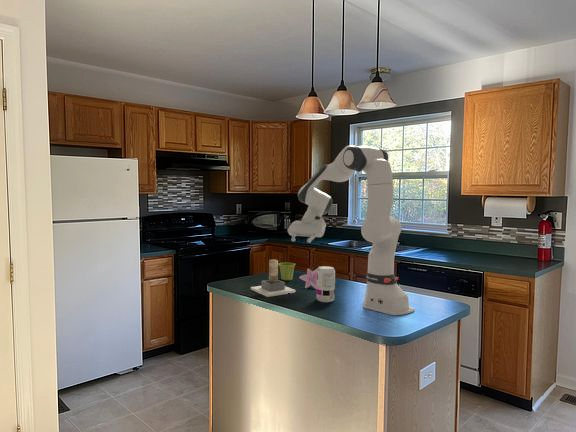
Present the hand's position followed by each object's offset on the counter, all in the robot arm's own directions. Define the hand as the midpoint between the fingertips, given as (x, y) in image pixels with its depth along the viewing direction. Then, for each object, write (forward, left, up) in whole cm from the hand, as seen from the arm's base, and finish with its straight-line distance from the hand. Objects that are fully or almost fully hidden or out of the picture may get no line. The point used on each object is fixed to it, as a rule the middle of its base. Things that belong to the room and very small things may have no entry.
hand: (300, 241), depth 213 cm
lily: (-4, -5, -24) cm, 25 cm away
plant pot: (+17, -3, -24) cm, 29 cm away
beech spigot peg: (-1, +17, -22) cm, 28 cm away
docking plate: (-1, +17, -23) cm, 29 cm away
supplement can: (-27, +5, -24) cm, 36 cm away
